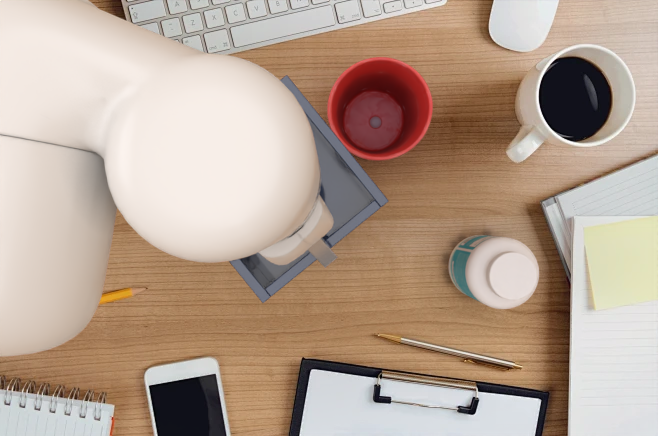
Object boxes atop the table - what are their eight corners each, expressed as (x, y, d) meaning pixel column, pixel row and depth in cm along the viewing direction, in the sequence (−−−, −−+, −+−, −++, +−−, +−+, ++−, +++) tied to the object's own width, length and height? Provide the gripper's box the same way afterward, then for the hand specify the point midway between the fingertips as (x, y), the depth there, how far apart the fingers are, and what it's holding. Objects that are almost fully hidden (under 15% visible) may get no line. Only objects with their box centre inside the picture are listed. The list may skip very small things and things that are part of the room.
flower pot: (425, 160, 72) (440, 152, 63) (333, 173, 72) (334, 166, 63) (413, 71, 72) (426, 49, 63) (321, 84, 72) (320, 64, 63)
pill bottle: (486, 309, 72) (522, 330, 59) (434, 274, 72) (459, 287, 59) (522, 257, 72) (566, 266, 59) (470, 221, 72) (503, 223, 59)
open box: (176, 180, 52) (160, 177, 47) (290, 88, 52) (286, 74, 47) (269, 294, 52) (262, 303, 47) (383, 202, 52) (389, 201, 47)
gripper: (96, 99, 32) (180, 141, 51) (294, 343, 33) (307, 297, 51) (206, 10, 32) (250, 84, 51) (404, 255, 32) (377, 241, 51)
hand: (278, 191), depth 51 cm, fingers closed on sponge, 4 cm apart
